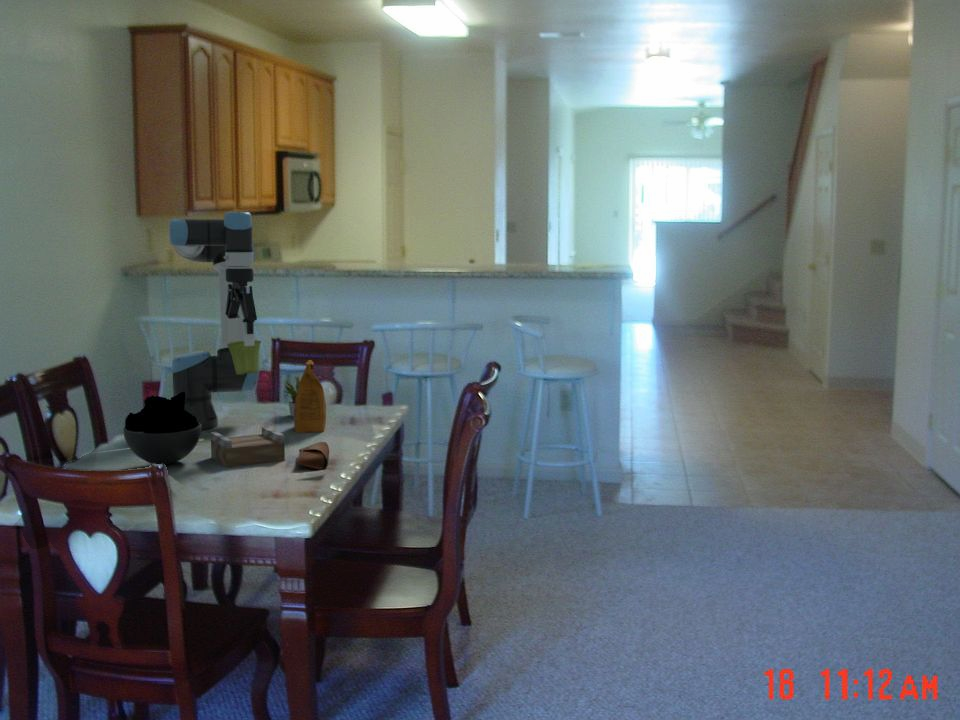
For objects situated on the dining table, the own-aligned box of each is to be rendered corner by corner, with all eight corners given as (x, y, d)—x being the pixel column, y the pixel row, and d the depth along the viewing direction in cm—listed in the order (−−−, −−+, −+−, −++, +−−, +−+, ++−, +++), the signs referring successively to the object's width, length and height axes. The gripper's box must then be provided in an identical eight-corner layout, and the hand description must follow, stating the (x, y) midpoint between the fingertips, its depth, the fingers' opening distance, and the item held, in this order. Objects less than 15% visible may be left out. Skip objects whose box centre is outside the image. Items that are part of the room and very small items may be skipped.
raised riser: (211, 457, 279) (210, 432, 278) (267, 451, 287) (266, 426, 286) (226, 467, 267) (226, 441, 266) (284, 460, 275) (284, 435, 274)
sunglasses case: (297, 448, 280) (313, 431, 280) (316, 465, 282) (332, 447, 282) (294, 463, 263) (312, 443, 263) (315, 480, 264) (332, 461, 264)
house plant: (325, 416, 343) (324, 368, 341) (325, 423, 329) (324, 373, 327) (282, 417, 341) (281, 369, 339) (280, 424, 327) (279, 374, 325)
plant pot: (254, 369, 278) (250, 338, 279) (223, 374, 280) (220, 344, 281) (270, 371, 287) (267, 341, 288) (241, 376, 289) (237, 346, 290)
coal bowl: (130, 475, 258) (127, 402, 256) (119, 459, 276) (116, 391, 274) (210, 467, 267) (207, 396, 265) (194, 452, 285) (192, 386, 283)
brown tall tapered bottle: (327, 427, 323) (325, 358, 320) (326, 434, 310) (325, 363, 308) (295, 428, 321) (293, 359, 319) (293, 435, 309) (291, 364, 307)
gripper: (212, 266, 291) (215, 339, 294) (240, 269, 270) (242, 348, 273) (238, 266, 295) (240, 338, 298) (267, 268, 274) (269, 347, 276)
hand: (241, 343), depth 285 cm, fingers open, 13 cm apart
